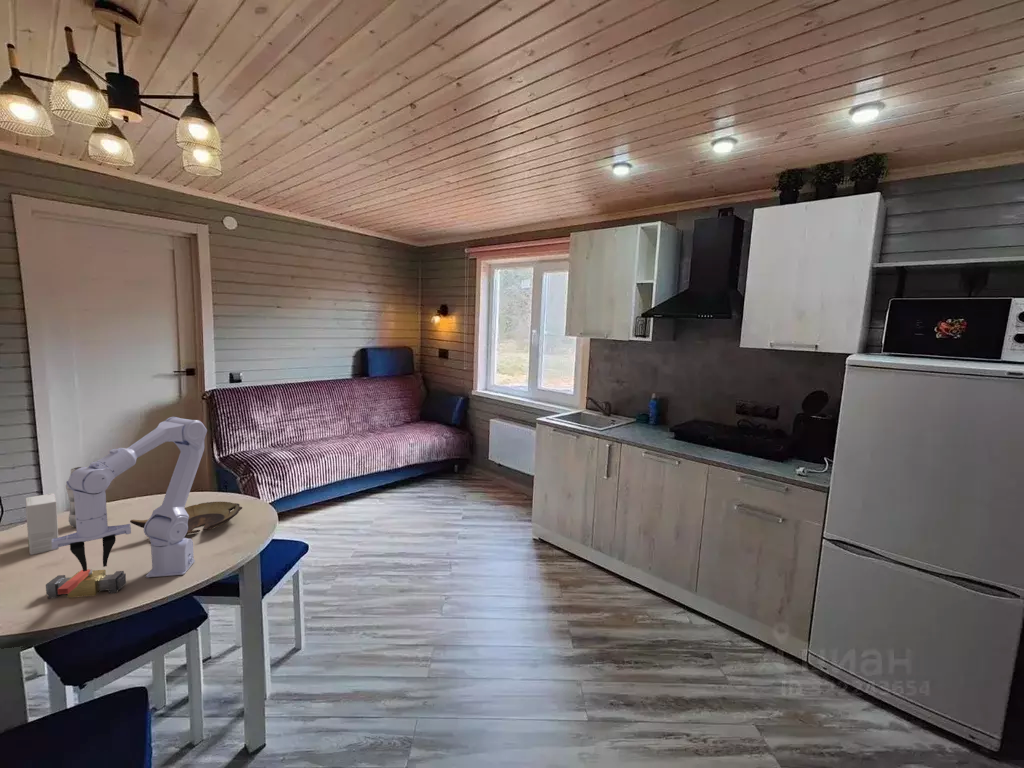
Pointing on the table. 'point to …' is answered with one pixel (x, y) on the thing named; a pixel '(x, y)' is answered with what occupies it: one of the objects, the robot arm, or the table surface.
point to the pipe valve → (88, 584)
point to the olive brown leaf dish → (205, 515)
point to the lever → (74, 582)
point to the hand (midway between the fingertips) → (95, 567)
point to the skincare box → (41, 522)
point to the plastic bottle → (72, 503)
